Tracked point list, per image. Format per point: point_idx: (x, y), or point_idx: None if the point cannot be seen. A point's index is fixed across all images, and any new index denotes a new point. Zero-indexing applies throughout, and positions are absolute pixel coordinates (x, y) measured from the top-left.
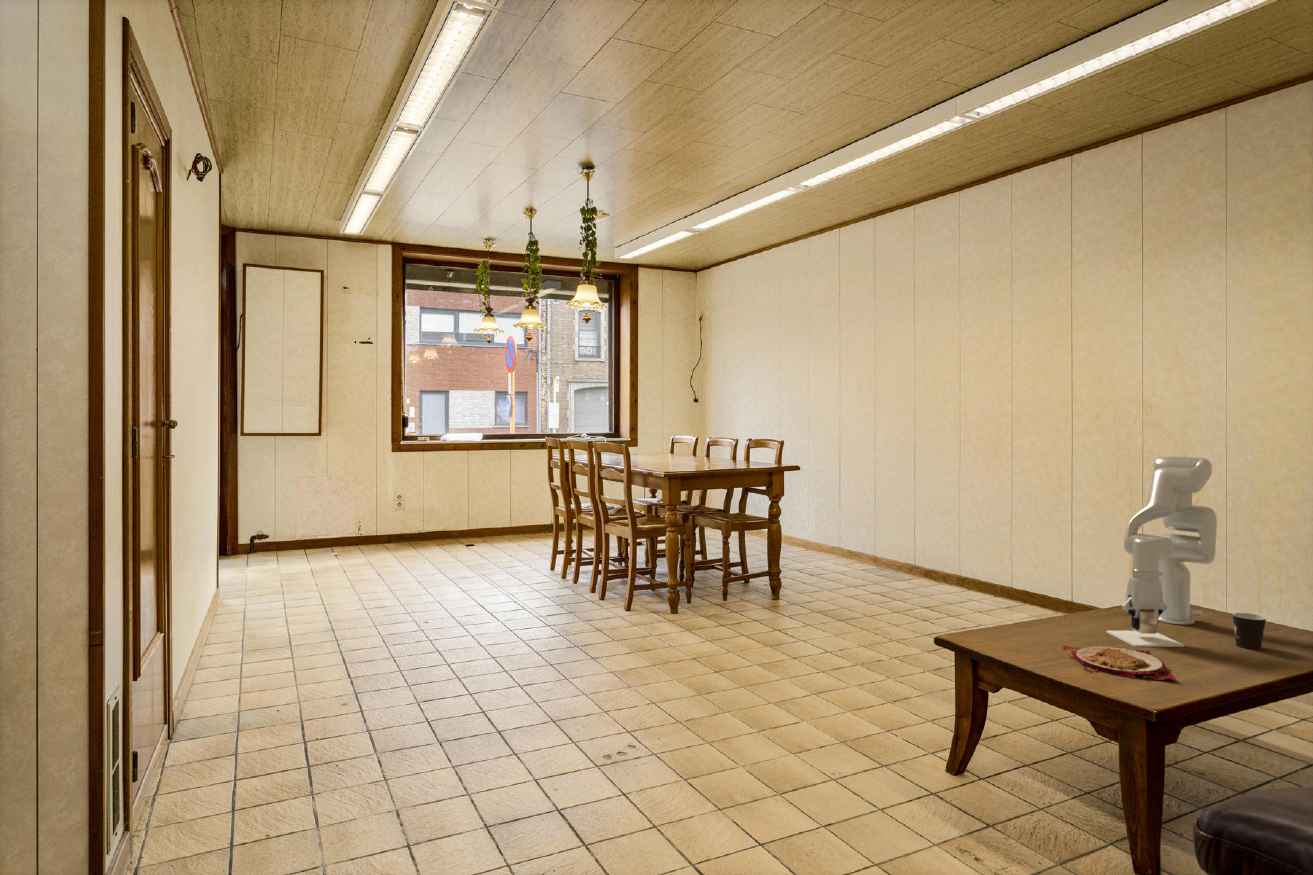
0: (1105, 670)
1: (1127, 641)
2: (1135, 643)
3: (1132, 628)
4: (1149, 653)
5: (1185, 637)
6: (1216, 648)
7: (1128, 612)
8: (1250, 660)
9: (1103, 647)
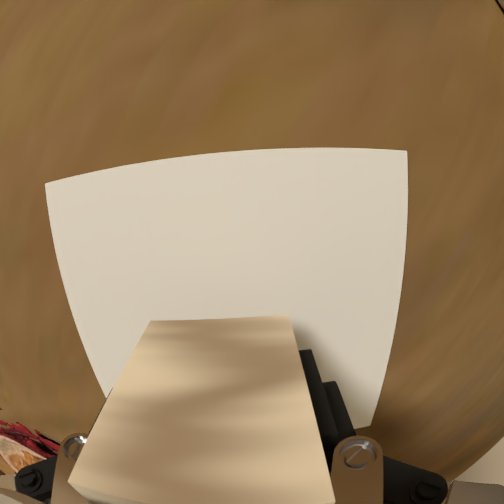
0: None
1: (105, 393)
2: None
3: (149, 328)
4: None
5: (491, 264)
6: (461, 402)
7: (42, 471)
8: (433, 467)
9: (29, 450)
